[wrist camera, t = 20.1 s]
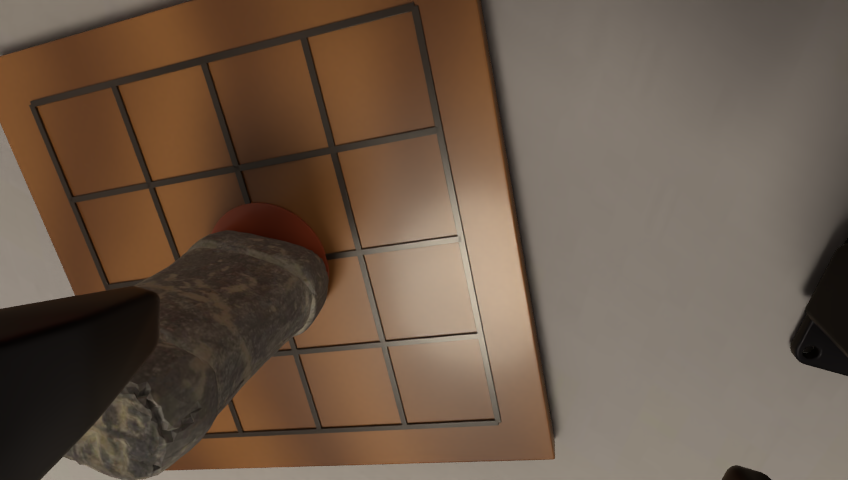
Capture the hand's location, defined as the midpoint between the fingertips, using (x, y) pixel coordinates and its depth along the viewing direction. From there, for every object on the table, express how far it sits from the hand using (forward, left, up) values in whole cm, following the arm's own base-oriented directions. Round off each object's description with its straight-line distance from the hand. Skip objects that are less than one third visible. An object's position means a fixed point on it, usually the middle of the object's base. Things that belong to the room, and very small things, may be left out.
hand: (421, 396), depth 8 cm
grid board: (+8, +5, -13) cm, 16 cm away
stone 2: (+8, +5, -12) cm, 15 cm away
